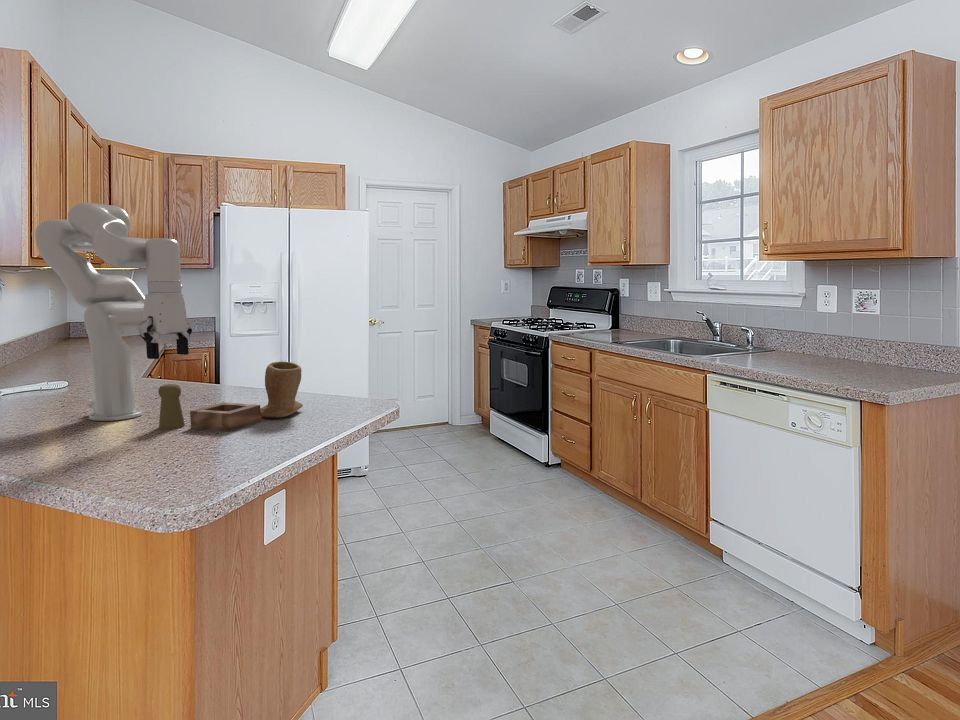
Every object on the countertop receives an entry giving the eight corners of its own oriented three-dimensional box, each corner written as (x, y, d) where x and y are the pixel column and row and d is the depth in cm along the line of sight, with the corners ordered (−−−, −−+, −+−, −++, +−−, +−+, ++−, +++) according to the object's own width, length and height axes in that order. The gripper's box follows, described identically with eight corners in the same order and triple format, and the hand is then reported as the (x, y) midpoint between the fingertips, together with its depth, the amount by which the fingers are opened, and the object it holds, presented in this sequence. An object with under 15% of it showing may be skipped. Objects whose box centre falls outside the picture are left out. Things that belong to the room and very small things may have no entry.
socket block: (190, 428, 157) (189, 410, 156) (223, 418, 168) (222, 402, 167) (230, 431, 153) (229, 413, 152) (261, 421, 164) (260, 404, 164)
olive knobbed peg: (174, 429, 155) (171, 386, 154) (153, 428, 156) (150, 386, 155) (190, 424, 161) (187, 383, 159) (169, 423, 162) (167, 382, 161)
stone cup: (292, 421, 165) (290, 365, 163) (250, 420, 166) (247, 365, 164) (313, 410, 180) (312, 359, 178) (274, 409, 181) (272, 358, 179)
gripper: (178, 288, 163) (182, 352, 166) (123, 288, 147) (128, 359, 149) (202, 288, 161) (205, 353, 163) (149, 289, 145) (153, 361, 147)
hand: (168, 356), depth 156 cm, fingers open, 9 cm apart
